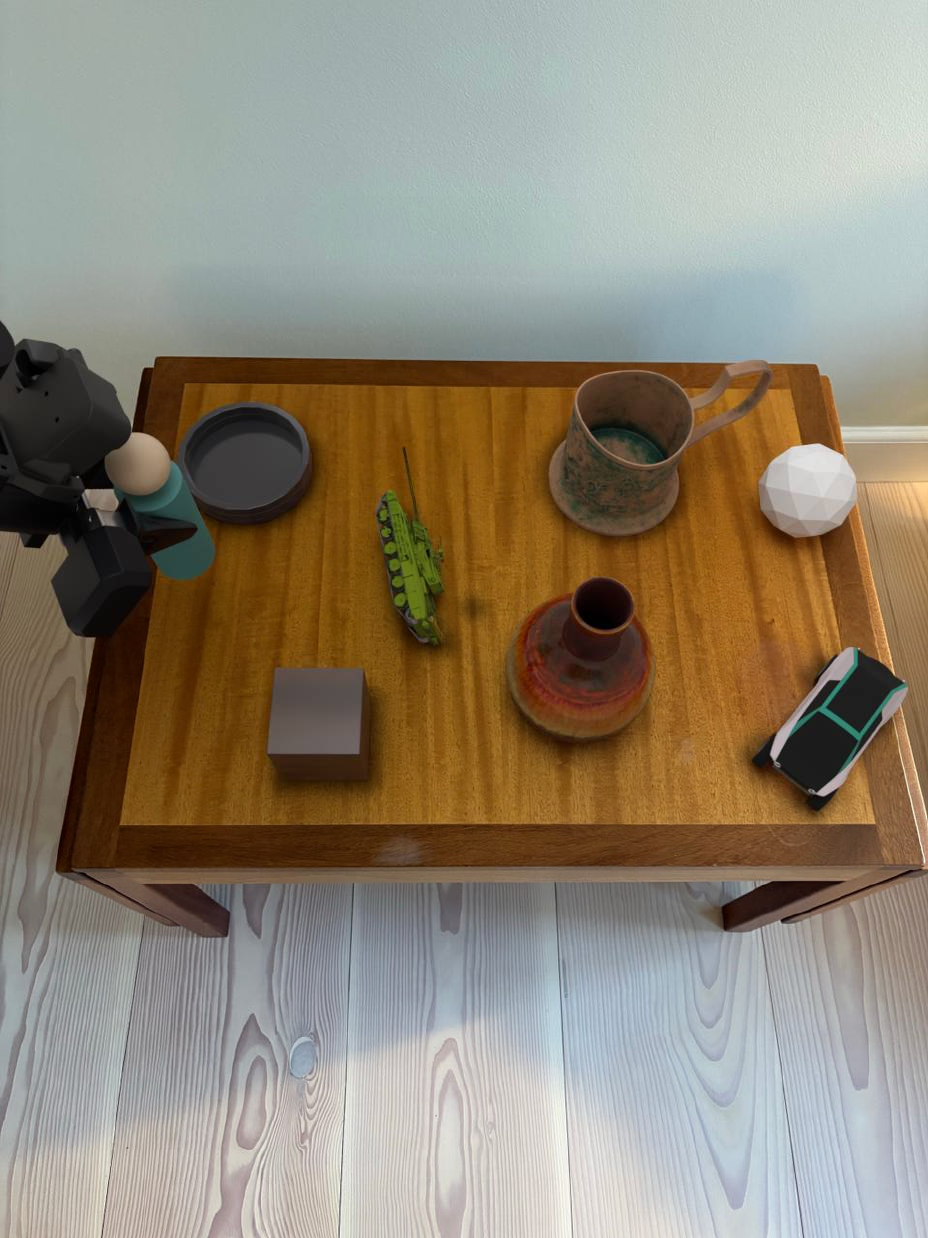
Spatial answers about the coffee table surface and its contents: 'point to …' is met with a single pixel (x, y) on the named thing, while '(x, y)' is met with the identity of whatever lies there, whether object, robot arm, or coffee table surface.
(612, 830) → the coffee table surface
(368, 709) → the walnut block
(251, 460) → the round grey tray
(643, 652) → the vase
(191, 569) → the wooden doll
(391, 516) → the toy tank
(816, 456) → the geometric ball
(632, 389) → the mug
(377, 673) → the coffee table surface
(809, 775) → the toy car
